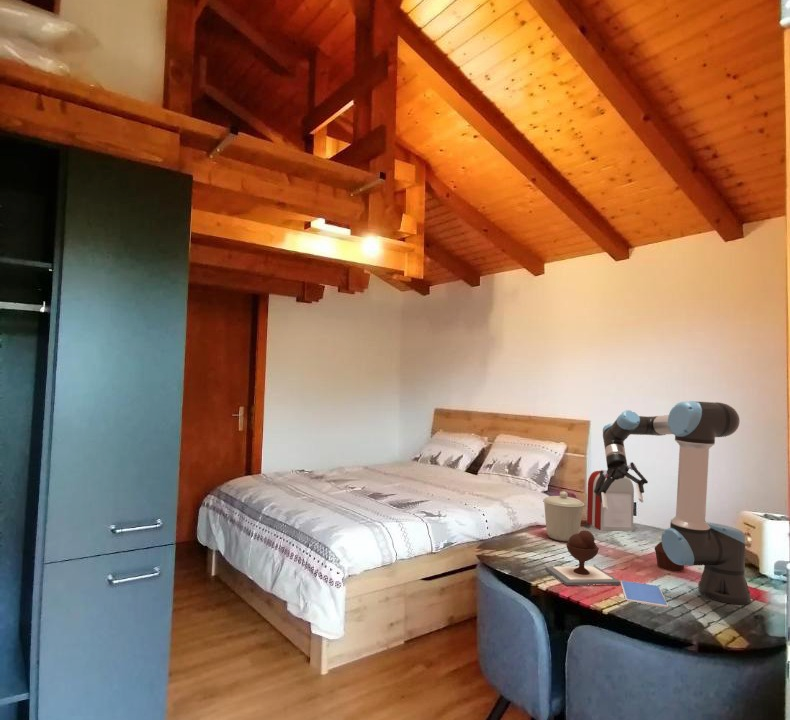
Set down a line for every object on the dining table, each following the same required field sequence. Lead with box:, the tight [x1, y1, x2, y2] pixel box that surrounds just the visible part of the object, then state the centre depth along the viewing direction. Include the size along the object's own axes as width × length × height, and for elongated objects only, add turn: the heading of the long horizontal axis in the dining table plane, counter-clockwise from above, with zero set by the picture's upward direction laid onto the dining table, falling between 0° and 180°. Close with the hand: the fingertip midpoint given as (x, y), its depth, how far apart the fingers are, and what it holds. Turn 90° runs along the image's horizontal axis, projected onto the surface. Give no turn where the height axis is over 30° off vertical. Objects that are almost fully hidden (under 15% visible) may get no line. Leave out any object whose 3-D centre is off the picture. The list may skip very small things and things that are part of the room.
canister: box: [542, 490, 586, 543], centre depth 244 cm, size 18×18×21 cm
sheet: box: [552, 565, 613, 581], centre depth 193 cm, size 13×16×1 cm
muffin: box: [654, 541, 685, 572], centre depth 209 cm, size 12×11×10 cm
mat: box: [545, 565, 621, 586], centre depth 193 cm, size 16×20×1 cm
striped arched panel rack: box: [586, 469, 635, 532], centre depth 271 cm, size 16×18×27 cm
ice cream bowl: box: [565, 530, 600, 575], centre depth 194 cm, size 11×11×15 cm
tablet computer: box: [619, 580, 669, 608], centre depth 180 cm, size 19×13×1 cm, turn 162°
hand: (622, 504), depth 203 cm, fingers open, 13 cm apart
